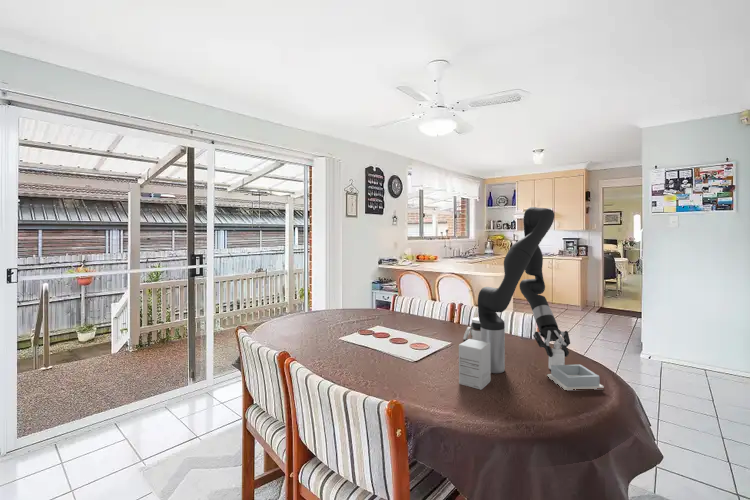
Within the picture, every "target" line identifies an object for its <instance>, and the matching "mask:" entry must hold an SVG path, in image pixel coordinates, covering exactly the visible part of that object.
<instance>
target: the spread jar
mask: <svg viewBox="0 0 750 500" xmlns="http://www.w3.org/2000/svg"><path fill="white" fill-rule="evenodd" d="M471 318H472V319H471V323H470V326H467V327H466V329H465V332H464V334H463V340H465V341H466V340H468V338H469V336H470V339H473V340H478V341H481V324H480V321H479V316H477V317H471Z"/></svg>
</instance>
